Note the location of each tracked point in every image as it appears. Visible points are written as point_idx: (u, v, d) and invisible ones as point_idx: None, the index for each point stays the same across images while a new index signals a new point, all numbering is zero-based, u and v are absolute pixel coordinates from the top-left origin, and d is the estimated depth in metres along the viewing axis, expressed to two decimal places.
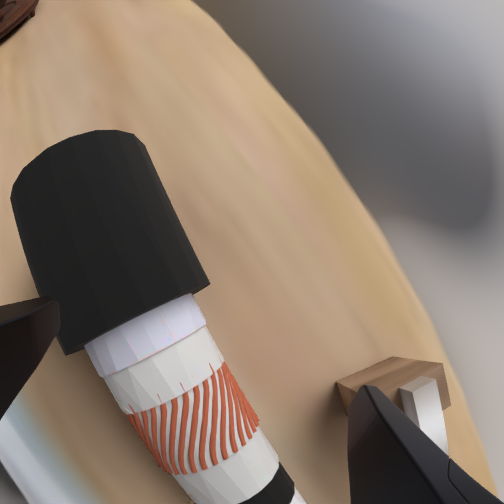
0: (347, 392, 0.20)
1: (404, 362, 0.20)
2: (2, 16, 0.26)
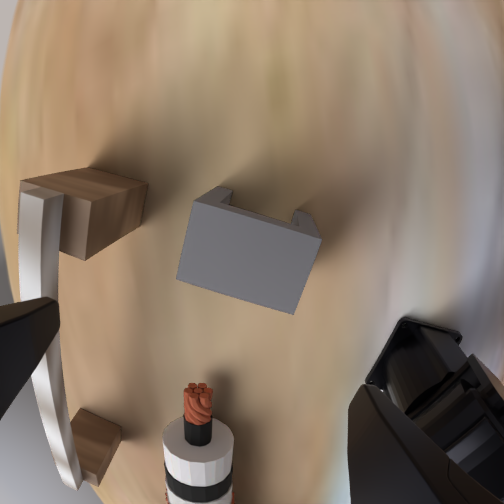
0: (114, 452, 0.27)
1: None
2: None
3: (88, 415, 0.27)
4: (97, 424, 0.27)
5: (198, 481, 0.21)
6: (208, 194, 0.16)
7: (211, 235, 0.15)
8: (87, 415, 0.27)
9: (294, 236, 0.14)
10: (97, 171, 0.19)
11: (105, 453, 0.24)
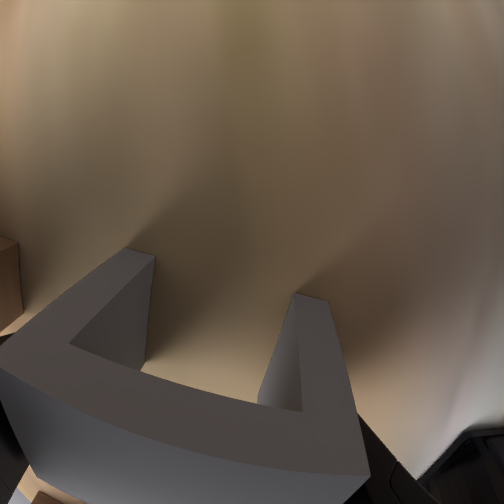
0: None
1: None
2: None
3: (48, 500, 0.17)
4: None
5: None
6: (63, 300, 0.06)
7: (54, 440, 0.04)
8: (47, 500, 0.17)
9: (285, 478, 0.04)
10: None
11: None
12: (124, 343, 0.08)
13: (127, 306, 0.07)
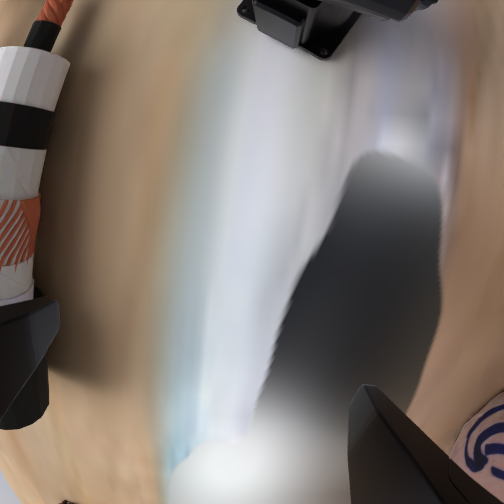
0: None
1: None
2: None
3: None
4: None
5: None
6: None
7: None
8: None
9: None
10: None
11: None
12: None
13: None
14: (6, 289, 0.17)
